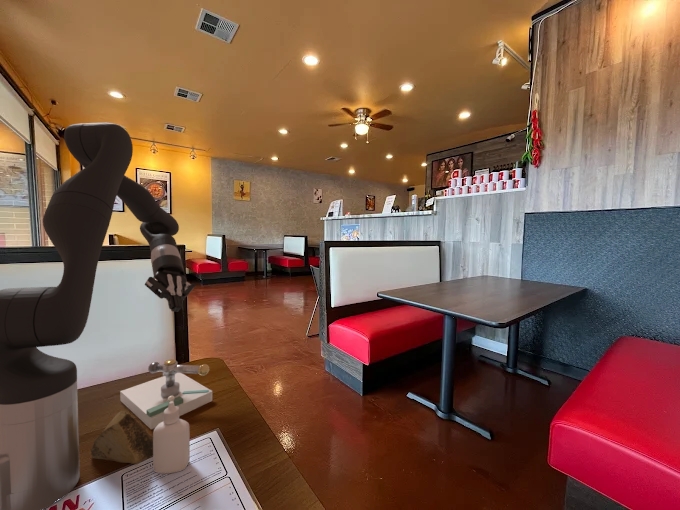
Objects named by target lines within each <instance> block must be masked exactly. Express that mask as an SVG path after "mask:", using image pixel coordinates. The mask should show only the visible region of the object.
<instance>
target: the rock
mask: <svg viewBox="0 0 680 510" xmlns="http://www.w3.org/2000/svg"><path fill="white" fill-rule="evenodd" d="M90 456H91V459H96V460H105V461H114V462H116V463H123V464H127V463H129V464H133V465H135V464H140V463H142V462H143V461H146V460H148V459H150V458H151V457H152V458H153V434H150V433H149V432H148V431H147V429H146V428H145V427H144V426H143V424H142V422H139V420H137V419H136V418H134V417H133V416H132V415H131V414H129V413H127V412H126V411H124V410H120V411H119V412H117V413H116V414H115V416H114V417H113V418H112V419H111V420H110V421H109V423H108V424H107V425H106V426H105V428H104V429H103V430H102V431H101V432H100V434H98V436H97V437H96V438H95V440H94V441H93V445H92V447H91V449H90Z"/></svg>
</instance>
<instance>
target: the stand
mask: <svg viewBox="0 0 680 510" xmlns="http://www.w3.org/2000/svg"><path fill="white" fill-rule="evenodd" d="M119 393H120V395H119V396H120V402H121V403H122V404H123V405H124V406H126V408H127V409H128V410H130V411H131V412H132V414H134V415H135V416H136V417H137V419H139V420H140V421H142V422H143V424H144V425H146V426H147V427H148V429H150V430H154V429H155V428H156V426H157V425H158V424H159V423H161V422H163V421H164V410H165V409H167V408H168V406H169V402H171V401H173V402H174V405H175V406H177V407H179V417H181V416H183V415H185V414H187V413H189V412H191V411H194V410H196V409H199V408H200V407H202V406H204V405H206V404H208V403H210V402H211V403H212V402H213V390H212V389H209V388H208V387H207V386H204V385H203V384H201V383H199V382H198V381H196V380H194V379H193V378H191V377H189V376H187V375H186V374H185V373H176V374H175V385H173V386H171V387H166V376H163V375H162V376H161V377H160V376H159V377H157V378H155V379H152V380H148V381H146V382H143V383H140V384H137V385H134V386H131V387H129V388H126V389H123V390H120V391H119Z"/></svg>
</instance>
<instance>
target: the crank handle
mask: <svg viewBox="0 0 680 510" xmlns="http://www.w3.org/2000/svg"><path fill="white" fill-rule="evenodd" d="M178 363H179V362H178V361H177V360H176V359H175V358H169V359H167V360H165V361H164V363H160V362H157V361H154V362H151V363H150V364H149V366H148V368H147V369H148V370H147V371H148V372H149V373H150V374H156V373H162V377H163V376H166V387H171V386H173V385H175V374H176V373H182V374H199V376H206V375H207V374H209V372H210V366H209V365H208V364H206V363H204V364H203V363H202V364H201V365H197V364H196V365H194V364H193V365H191V364H189V365H188V364H178Z"/></svg>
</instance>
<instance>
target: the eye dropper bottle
mask: <svg viewBox="0 0 680 510" xmlns="http://www.w3.org/2000/svg"><path fill="white" fill-rule="evenodd" d="M189 423H190V422H188V421H187V420H185V419H182V418H180V416H179V407H177V406H175V405H174V402H173V401H171V402H169V406H168V408H167V409H165V410H164V421H163V422H161V423H159V424H158V425H157V426H156V428H153V433H152V436H153V456H152V460H153V461H152V462H153V463H152V467H153V471H154V472H155V473H158V474H174V473H177V472H181V471H183V470H185V469H186V468H187V466H188V464H189V462H190V458H191V457H190V456H191V455H190V454H191V453H190V452H191V451H190V450H191V449H190V448H191V446H190V424H189Z"/></svg>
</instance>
